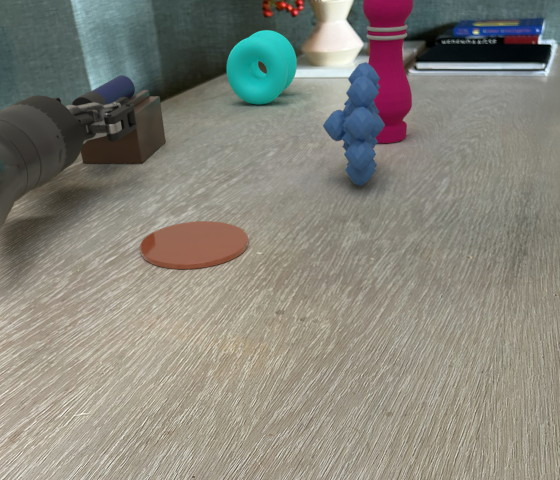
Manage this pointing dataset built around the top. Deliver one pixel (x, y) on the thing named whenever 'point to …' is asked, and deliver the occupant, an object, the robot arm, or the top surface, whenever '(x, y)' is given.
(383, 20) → the pepper mill
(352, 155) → the grapes
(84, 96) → the marker
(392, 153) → the top surface
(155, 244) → the coaster
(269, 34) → the donuts
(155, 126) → the block
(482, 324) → the top surface
